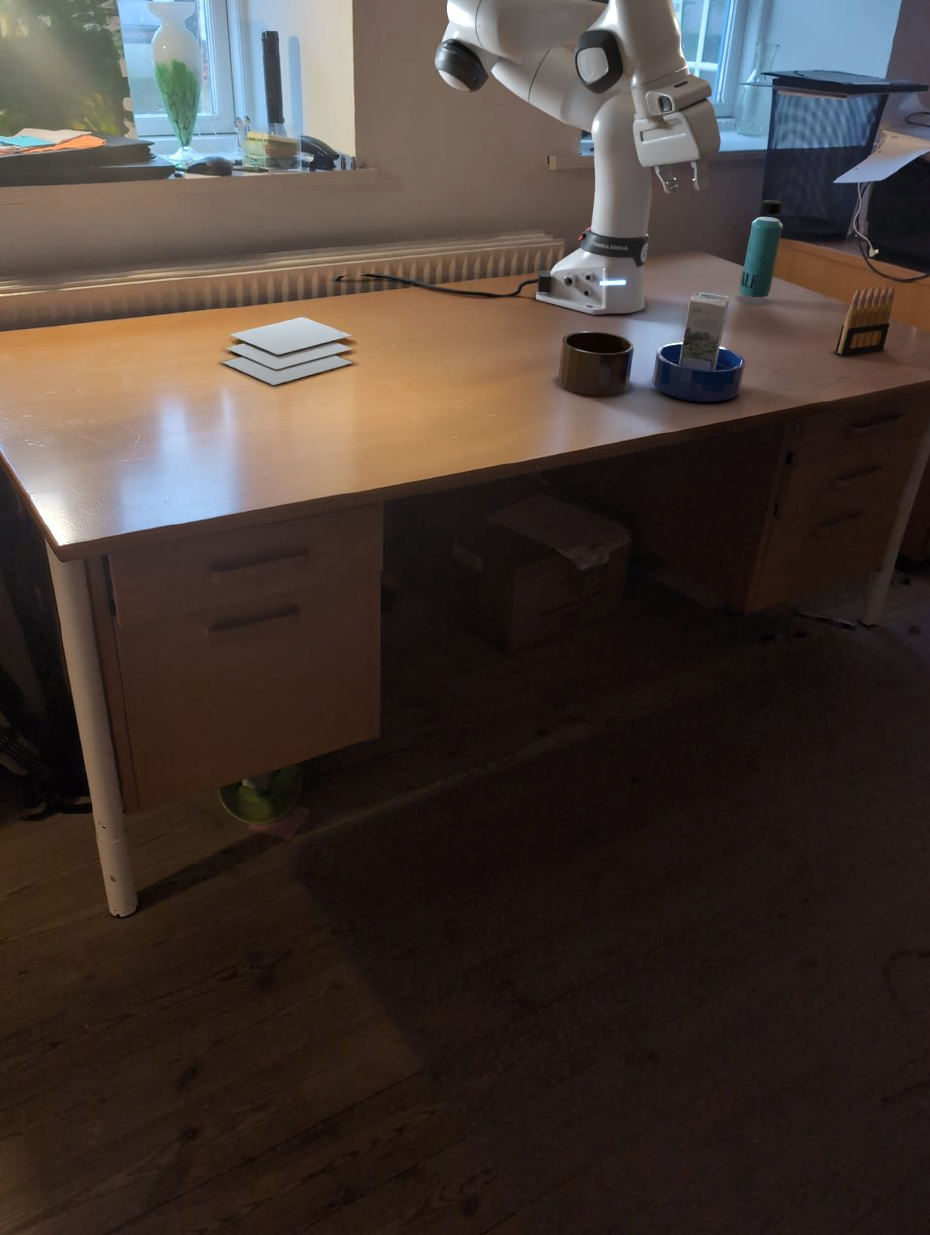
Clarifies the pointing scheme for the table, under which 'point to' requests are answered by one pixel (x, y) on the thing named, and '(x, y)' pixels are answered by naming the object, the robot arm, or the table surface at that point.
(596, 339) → the cup
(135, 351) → the table surface
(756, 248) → the beverage bottle
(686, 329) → the syrup box
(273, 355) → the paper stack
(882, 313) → the ammunition clip
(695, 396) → the bowl
